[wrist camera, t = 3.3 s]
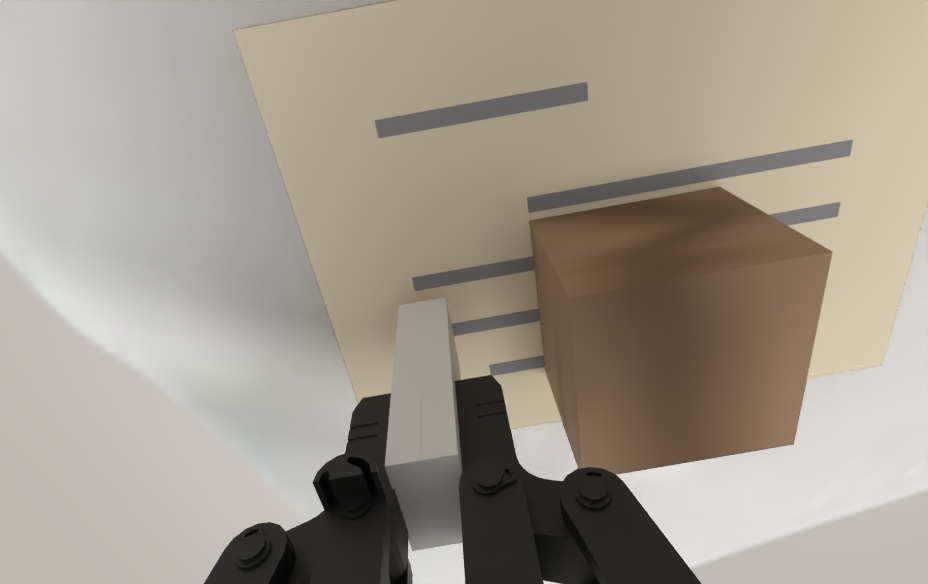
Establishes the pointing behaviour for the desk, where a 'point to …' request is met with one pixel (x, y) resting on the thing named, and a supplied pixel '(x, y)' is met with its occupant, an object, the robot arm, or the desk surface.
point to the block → (676, 327)
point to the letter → (586, 153)
